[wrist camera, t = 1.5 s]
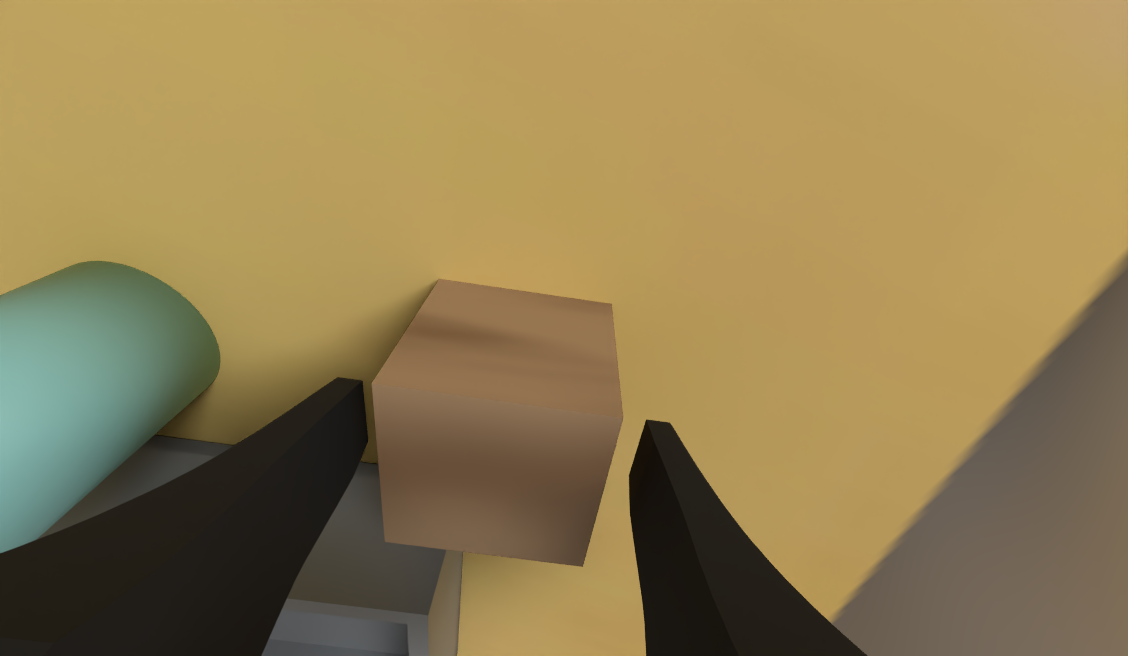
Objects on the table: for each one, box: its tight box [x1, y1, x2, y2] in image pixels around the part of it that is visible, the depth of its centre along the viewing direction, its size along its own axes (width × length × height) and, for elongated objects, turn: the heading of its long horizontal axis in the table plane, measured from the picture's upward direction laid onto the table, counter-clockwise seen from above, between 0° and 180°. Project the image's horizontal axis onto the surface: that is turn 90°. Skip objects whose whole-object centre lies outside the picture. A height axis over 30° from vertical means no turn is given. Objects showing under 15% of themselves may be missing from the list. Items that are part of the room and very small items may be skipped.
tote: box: [38, 435, 463, 656], centre depth 18 cm, size 13×17×5 cm
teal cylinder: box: [0, 261, 220, 553], centre depth 12 cm, size 5×5×7 cm
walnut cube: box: [372, 279, 623, 567], centre depth 13 cm, size 5×5×5 cm
